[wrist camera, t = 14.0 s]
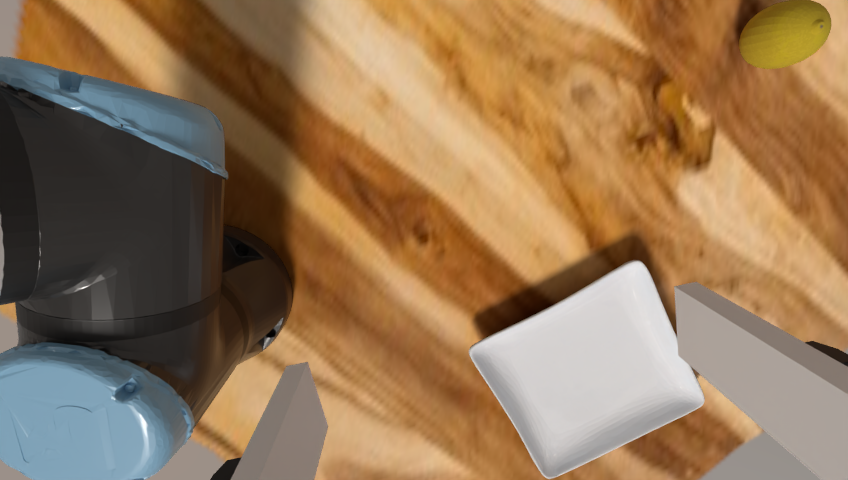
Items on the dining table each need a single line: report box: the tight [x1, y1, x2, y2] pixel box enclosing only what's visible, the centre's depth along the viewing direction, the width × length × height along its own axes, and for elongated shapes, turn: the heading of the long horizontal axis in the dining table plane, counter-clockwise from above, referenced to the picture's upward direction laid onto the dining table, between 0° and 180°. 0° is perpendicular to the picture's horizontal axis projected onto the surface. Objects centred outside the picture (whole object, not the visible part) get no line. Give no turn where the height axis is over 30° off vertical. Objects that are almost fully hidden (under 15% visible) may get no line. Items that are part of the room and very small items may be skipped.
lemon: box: [739, 0, 831, 69], centre depth 39 cm, size 6×6×8 cm
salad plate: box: [469, 260, 705, 479], centre depth 51 cm, size 21×21×3 cm
